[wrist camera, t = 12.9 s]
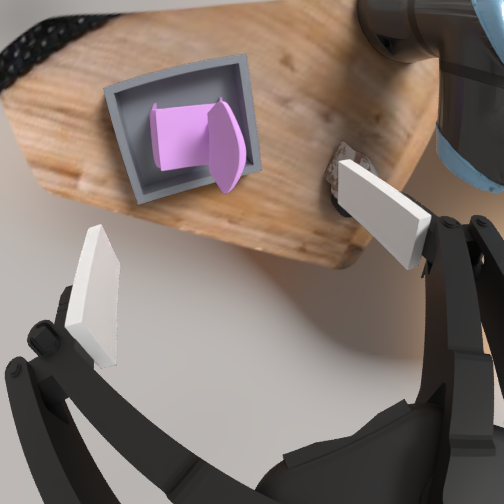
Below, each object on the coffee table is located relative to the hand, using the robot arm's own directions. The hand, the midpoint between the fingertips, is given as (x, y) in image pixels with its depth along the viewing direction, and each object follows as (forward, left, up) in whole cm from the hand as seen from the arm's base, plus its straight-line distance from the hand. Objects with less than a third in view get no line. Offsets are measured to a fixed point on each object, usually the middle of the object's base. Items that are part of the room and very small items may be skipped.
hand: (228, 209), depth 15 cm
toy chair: (0, 0, -24) cm, 24 cm away
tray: (0, 0, -24) cm, 25 cm away
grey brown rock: (-24, +14, -25) cm, 37 cm away
